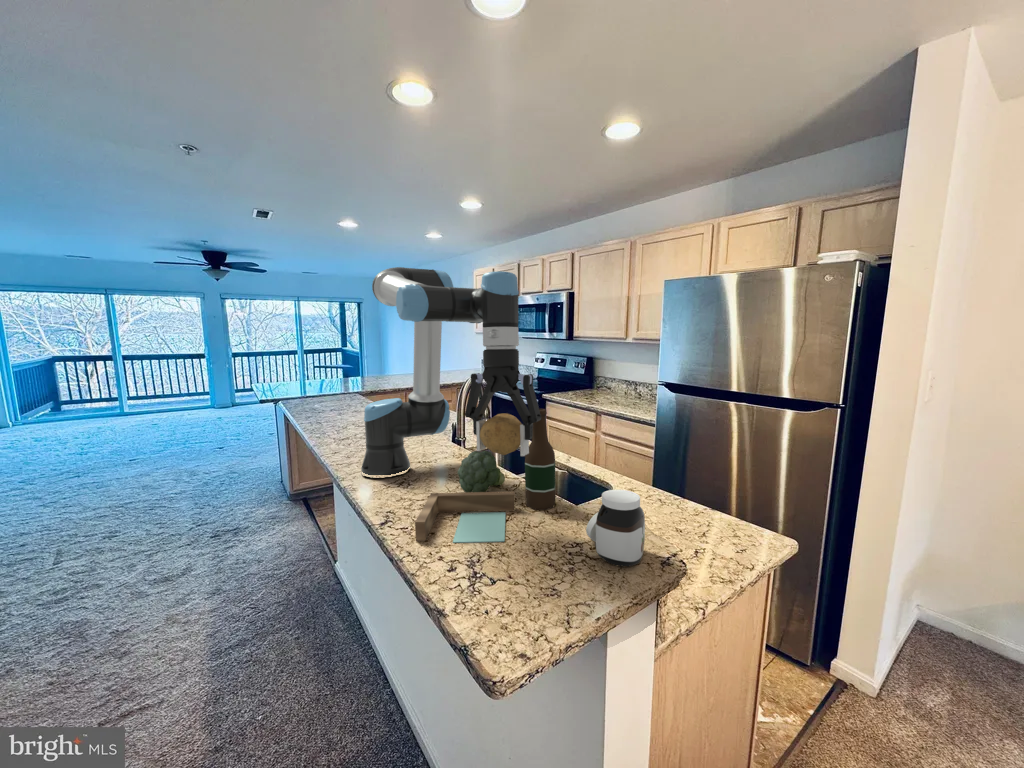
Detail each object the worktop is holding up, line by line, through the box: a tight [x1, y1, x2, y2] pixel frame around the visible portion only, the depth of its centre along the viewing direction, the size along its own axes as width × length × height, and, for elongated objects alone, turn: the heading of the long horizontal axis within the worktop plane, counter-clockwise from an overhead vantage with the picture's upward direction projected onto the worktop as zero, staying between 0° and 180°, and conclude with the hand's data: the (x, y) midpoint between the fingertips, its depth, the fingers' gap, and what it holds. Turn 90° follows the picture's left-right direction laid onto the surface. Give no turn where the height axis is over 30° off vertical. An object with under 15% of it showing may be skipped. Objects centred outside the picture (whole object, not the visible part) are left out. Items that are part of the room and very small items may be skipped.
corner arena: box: [414, 491, 516, 542], centre depth 90 cm, size 16×20×4 cm
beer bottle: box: [524, 408, 557, 511], centre depth 99 cm, size 8×8×24 cm
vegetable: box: [457, 449, 506, 493], centre depth 110 cm, size 12×13×15 cm
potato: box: [480, 413, 523, 456], centre depth 86 cm, size 10×14×8 cm
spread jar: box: [585, 489, 646, 567], centre depth 76 cm, size 12×11×12 cm
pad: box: [452, 511, 507, 544], centre depth 88 cm, size 14×10×1 cm
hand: (502, 451), depth 86 cm, fingers closed on potato, 10 cm apart
